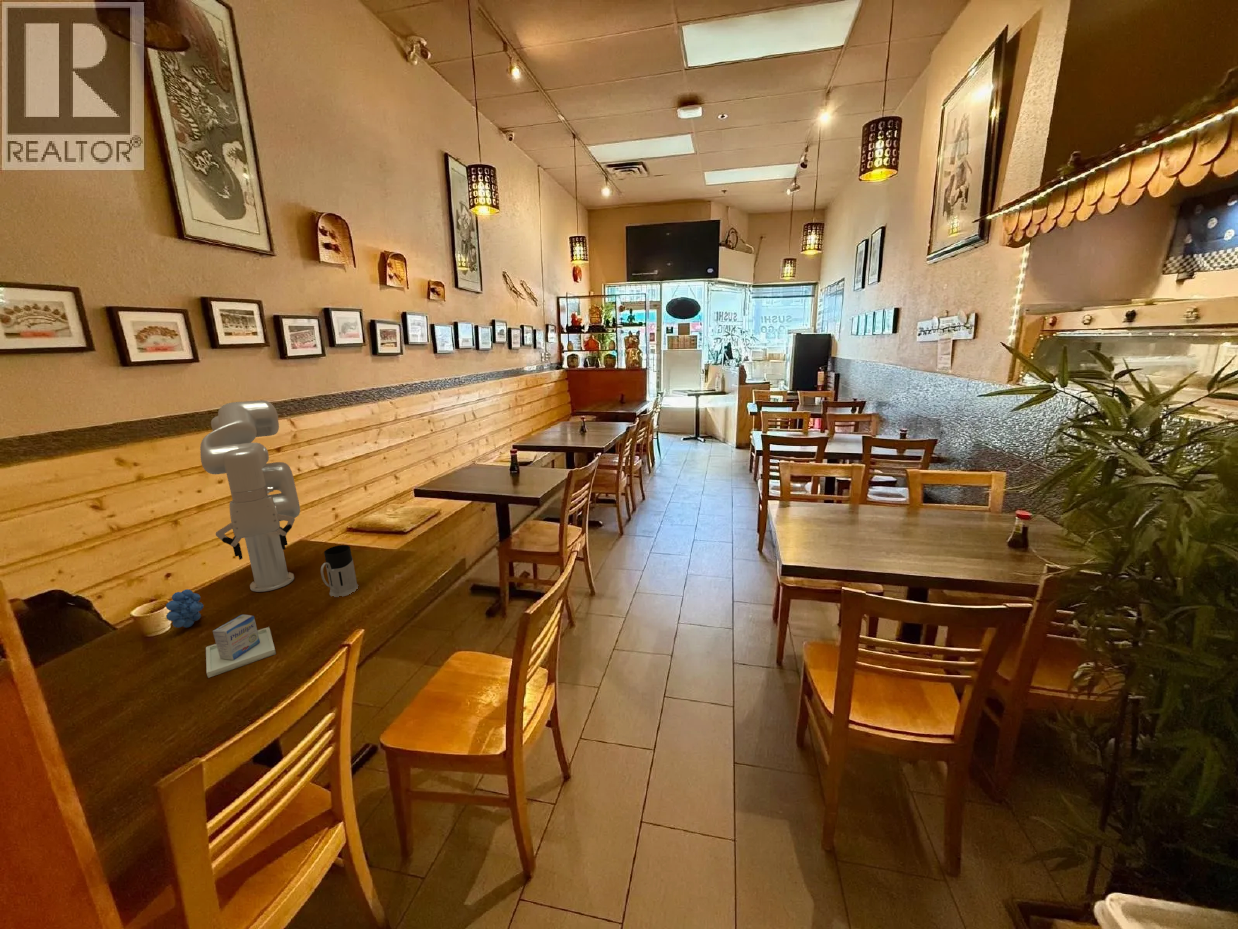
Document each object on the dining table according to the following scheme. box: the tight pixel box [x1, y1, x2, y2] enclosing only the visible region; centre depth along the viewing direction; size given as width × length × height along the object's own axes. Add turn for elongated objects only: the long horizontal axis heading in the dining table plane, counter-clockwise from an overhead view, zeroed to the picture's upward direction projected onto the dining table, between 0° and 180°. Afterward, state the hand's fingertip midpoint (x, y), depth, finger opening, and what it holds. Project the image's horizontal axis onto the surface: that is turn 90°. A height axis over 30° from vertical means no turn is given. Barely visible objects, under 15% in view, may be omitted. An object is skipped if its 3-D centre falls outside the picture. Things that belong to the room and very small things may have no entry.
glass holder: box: [320, 544, 359, 598], centre depth 155 cm, size 9×14×15 cm, turn 2°
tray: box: [205, 626, 277, 679], centre depth 127 cm, size 14×14×2 cm
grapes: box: [165, 588, 205, 629], centre depth 138 cm, size 12×7×12 cm, turn 6°
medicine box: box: [212, 614, 260, 660], centre depth 126 cm, size 8×4×9 cm, turn 169°
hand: (262, 552), depth 130 cm, fingers open, 9 cm apart
